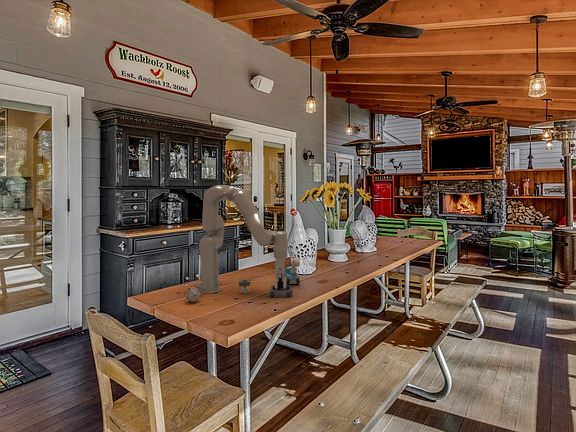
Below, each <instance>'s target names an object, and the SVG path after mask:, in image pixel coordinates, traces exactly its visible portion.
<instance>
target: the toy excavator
mask: <svg viewBox="0 0 576 432" xmlns="http://www.w3.org/2000/svg"><path fill="white" fill-rule="evenodd" d="M297 267H298V268H299V267H300V259H299V257H296V258H295V257H294V258H293V259H292V261H291V266H287V267H286V266H285V273H284V276H286V285H292V284H293V285H295V284H296V285H300V281H301V280H300V275H299V274H298V273H297Z"/></svg>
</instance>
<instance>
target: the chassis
mask: <svg viewBox="0 0 576 432" xmlns="http://www.w3.org/2000/svg"><path fill="white" fill-rule="evenodd" d="M293 293H294V289H292V284H289V285H286V289H275V284H273V285H270V289H269V290H268V294H267V296H268V298H269V297H270V298H274V297H275V298H278V297H281V298H282V297H285V298H293V296H294V294H293Z"/></svg>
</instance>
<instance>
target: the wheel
mask: <svg viewBox="0 0 576 432" xmlns="http://www.w3.org/2000/svg"><path fill="white" fill-rule="evenodd" d="M250 285H251V279H240V280H239V282H238V287H243V286H246V287H250Z"/></svg>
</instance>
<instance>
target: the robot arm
mask: <svg viewBox="0 0 576 432" xmlns="http://www.w3.org/2000/svg"><path fill="white" fill-rule="evenodd" d="M252 199H253V197H252V194H251V192H250V191H249V190H247V189H243V188H239V187H236V186H232V185H228V184H227V185H226V184H223V185H222V184H219V185H213V186H211V187H210V188H208V189H206V191H205V192H204V194H203V201H202V204H203V205H202V219H201V221H202V222H201V227H202V229H203V231H204V232H206V233H207V234H206V235H204V236H202V238H200V240H199V245H198V247H199V254H200V270H201V271H200V274H201V282H199V283H198V282H194V283H193V284H194V286H193V287H195V288H198V287H199V288H198V289H199V290H200V291H199V292H200V294H201V293H202V294H216V293H219V292H222V290H223V289H222V288H223V287H222V286H220V277H219V276H220V275H219V274H220V272H219V268H220V267H219V254H218V249H219V248H221V247H222V246H223V243H224V237H225V236H224V234H225V221H224V218H223V217H222V216H221V215H219V213H220V212H219V210H220V209H219V208H220V207H219V202H221V201H229V202H233V203H234V205H235V206H236V207H237V209H238V211H239V212H240V214H241V215H242V216H243V217H242V218H244V220H245V222H246V225H247V229H248V230H249V232H250V234H251V236H252V237H253V239H254V240H255V242H256V243H257V244H258V245H259V246H261V247H268V246H269V245H271V244H273V258H274V259H275V261H274V269H275V270H274V275H275V276H277V275H278V281H277V288H278V289H283V276H284V273H285V269H286V258H288V232H287V231H284V230H280V231H279V230H277V231H275V230H269V229H265V227H264V226H263V224H262V221H261V218H260V211H259V209H258V208H257V206H256V205H255V204H254V202H253V201H252Z"/></svg>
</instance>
